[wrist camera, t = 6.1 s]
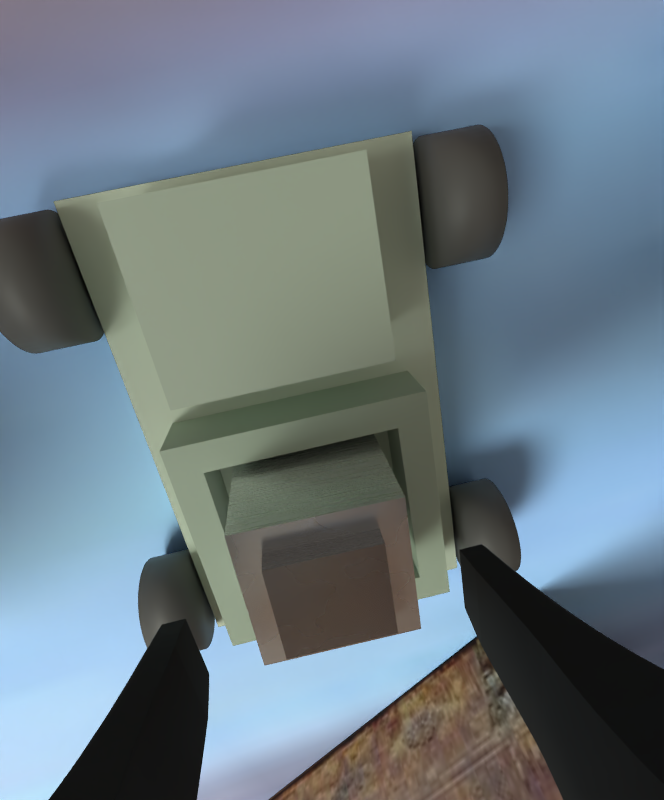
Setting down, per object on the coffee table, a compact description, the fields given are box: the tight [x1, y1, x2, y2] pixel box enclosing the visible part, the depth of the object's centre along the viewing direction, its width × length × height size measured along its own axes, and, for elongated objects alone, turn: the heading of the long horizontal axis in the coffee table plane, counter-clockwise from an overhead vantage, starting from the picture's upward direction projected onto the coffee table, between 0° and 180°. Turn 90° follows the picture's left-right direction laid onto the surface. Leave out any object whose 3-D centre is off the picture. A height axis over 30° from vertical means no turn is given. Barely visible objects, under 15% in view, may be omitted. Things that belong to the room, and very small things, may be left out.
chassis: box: [0, 125, 521, 650], centre depth 15 cm, size 13×16×4 cm
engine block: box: [224, 434, 421, 665], centre depth 14 cm, size 4×4×6 cm
